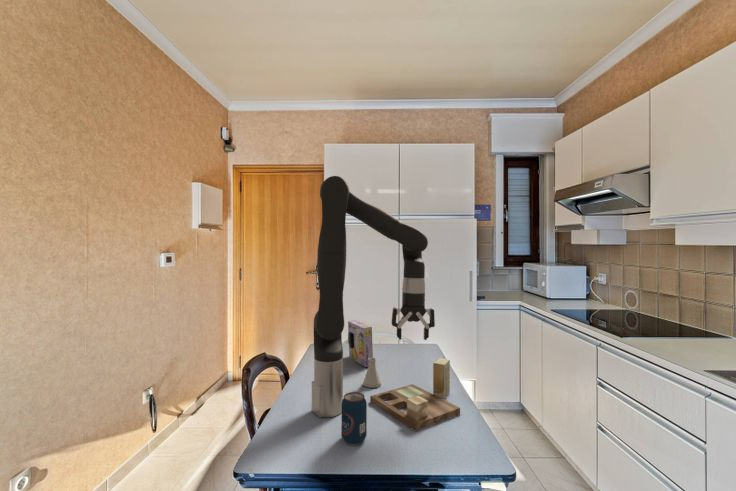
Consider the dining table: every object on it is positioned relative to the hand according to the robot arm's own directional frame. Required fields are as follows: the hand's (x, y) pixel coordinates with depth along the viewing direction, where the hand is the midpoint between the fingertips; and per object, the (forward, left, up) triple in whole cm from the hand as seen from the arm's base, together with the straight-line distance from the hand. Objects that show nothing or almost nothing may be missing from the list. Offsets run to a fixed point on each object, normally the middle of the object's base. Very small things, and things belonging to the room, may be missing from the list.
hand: (412, 339), depth 120 cm
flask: (-1, +22, -22) cm, 31 cm away
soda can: (-27, -7, -22) cm, 36 cm away
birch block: (-6, -9, -20) cm, 23 cm away
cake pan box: (+10, +48, -22) cm, 54 cm away
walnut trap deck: (-1, -2, -22) cm, 22 cm away
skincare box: (+14, 0, -22) cm, 26 cm away
